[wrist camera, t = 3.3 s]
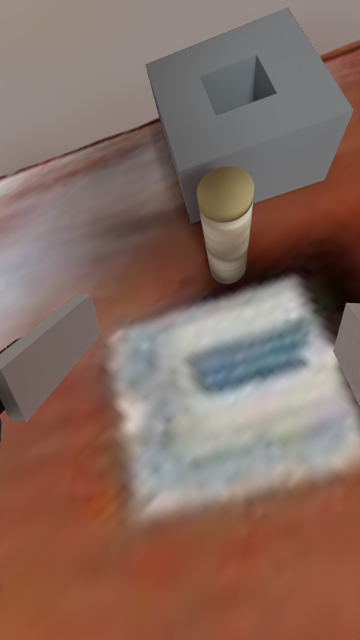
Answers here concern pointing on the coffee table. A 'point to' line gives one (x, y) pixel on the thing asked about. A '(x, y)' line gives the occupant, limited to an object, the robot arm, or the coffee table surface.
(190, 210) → the socket block
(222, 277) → the peg
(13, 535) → the coffee table surface
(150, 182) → the coffee table surface
